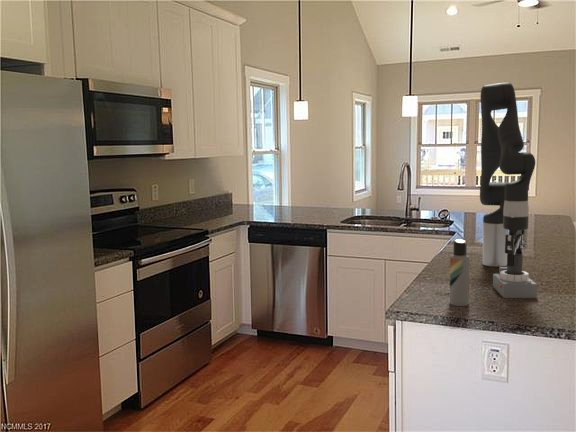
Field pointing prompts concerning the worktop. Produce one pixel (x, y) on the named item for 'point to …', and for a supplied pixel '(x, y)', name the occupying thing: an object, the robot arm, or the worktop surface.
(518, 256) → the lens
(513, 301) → the worktop surface
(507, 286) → the camera body
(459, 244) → the lotion bottle
